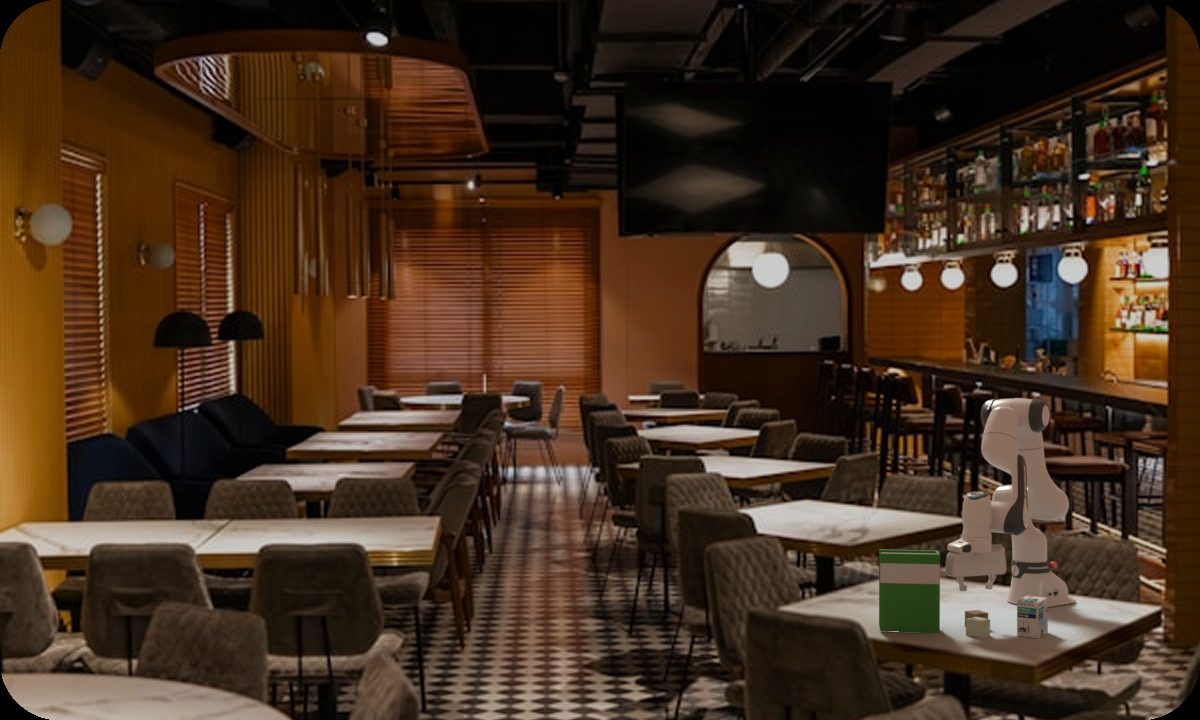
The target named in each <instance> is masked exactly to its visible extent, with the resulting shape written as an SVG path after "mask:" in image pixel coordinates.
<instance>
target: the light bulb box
mask: <svg viewBox="0 0 1200 720" xmlns="http://www.w3.org/2000/svg"><path fill="white" fill-rule="evenodd" d="M1016 609H1017V610H1016V612H1017V613H1016V636H1017V637H1023V638H1031V639H1040V638H1042V637H1043V636H1046V635H1047V634H1048V633H1049V631H1048V630H1049V628H1048V627H1049V622H1048V621H1049V619H1048V618H1049V616H1048V615H1049V607H1048V598H1045V597H1036V596H1028V595H1027V596H1025V597H1023V598H1022V599H1020V600H1018V601H1017V604H1016ZM1047 632H1048V633H1047Z"/></svg>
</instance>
